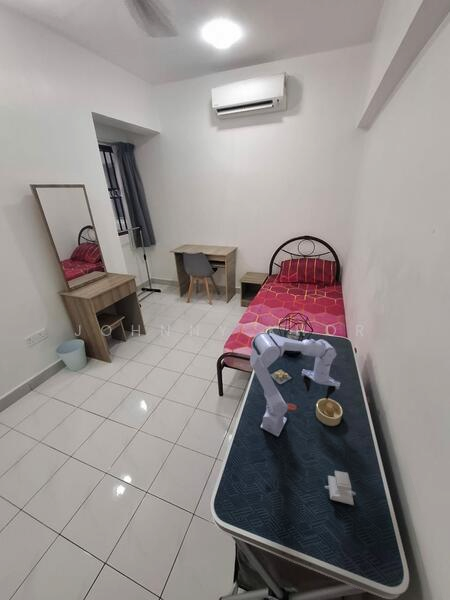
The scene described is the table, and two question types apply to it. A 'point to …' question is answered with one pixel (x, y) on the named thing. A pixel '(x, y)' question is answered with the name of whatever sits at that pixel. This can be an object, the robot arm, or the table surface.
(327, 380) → the robot arm
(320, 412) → the yellow round bowl
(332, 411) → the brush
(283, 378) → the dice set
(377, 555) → the table surface
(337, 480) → the stamp
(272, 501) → the table surface
